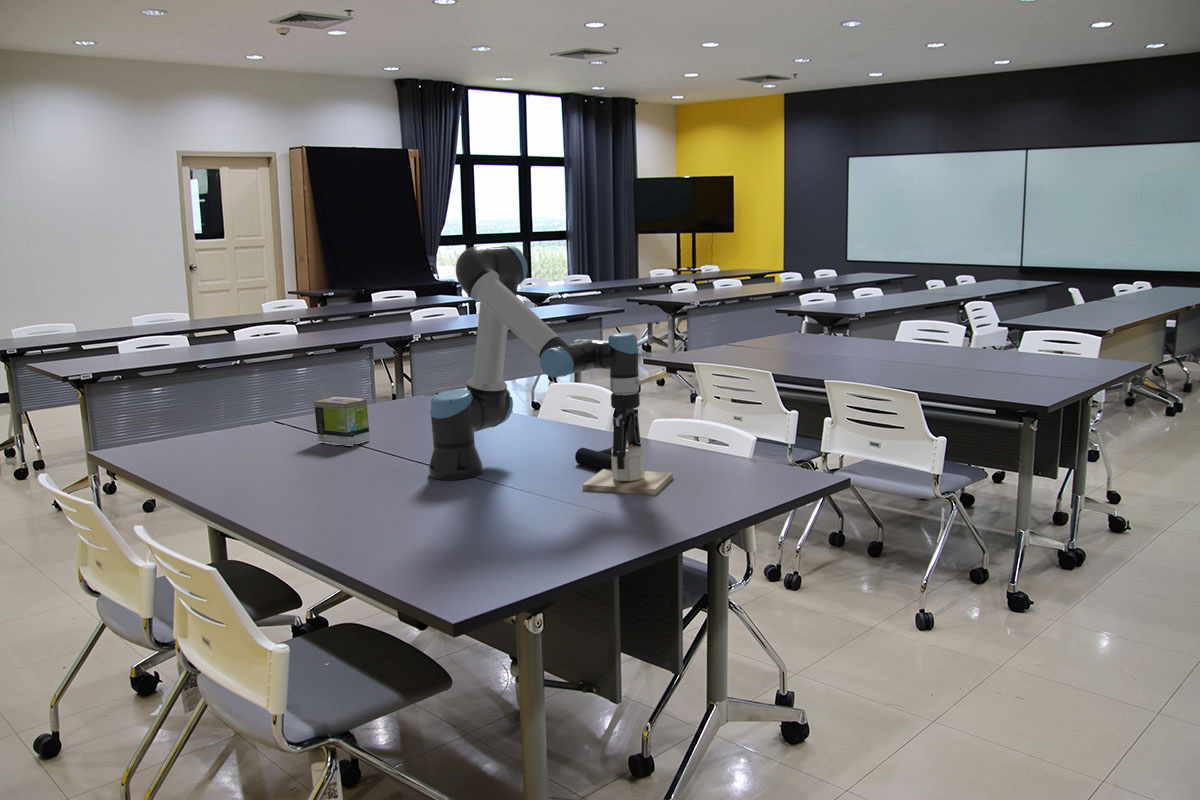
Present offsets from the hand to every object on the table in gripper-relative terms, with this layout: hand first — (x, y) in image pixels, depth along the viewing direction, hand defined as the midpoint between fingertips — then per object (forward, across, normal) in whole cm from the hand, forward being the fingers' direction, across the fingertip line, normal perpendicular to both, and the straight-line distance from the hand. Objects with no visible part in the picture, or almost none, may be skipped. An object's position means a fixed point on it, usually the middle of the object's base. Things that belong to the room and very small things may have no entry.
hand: (627, 475), depth 255 cm
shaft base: (+2, 0, 0) cm, 2 cm away
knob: (0, 0, 0) cm, 0 cm away
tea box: (+3, +27, +109) cm, 112 cm away
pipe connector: (+3, +17, +12) cm, 21 cm away
